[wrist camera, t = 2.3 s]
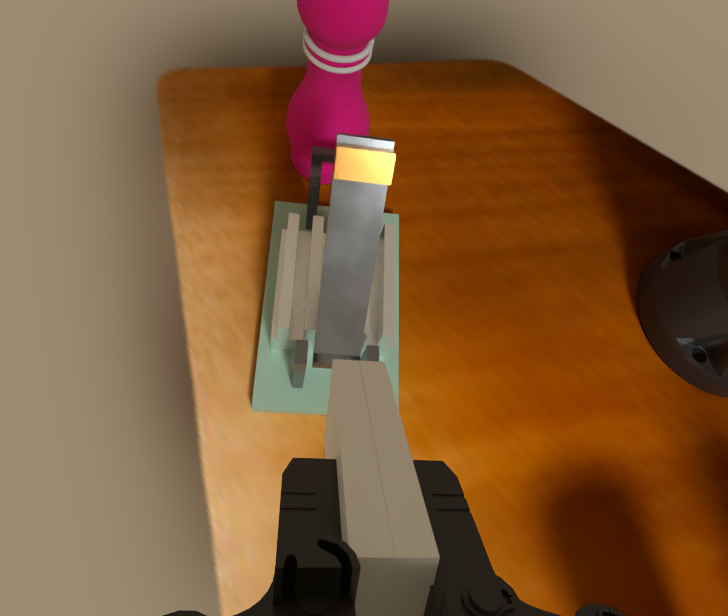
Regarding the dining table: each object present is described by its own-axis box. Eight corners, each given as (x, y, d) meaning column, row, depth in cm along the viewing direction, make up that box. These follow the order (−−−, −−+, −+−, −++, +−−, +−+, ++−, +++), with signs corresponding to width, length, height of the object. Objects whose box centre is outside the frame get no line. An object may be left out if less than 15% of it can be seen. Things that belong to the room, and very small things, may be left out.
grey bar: (356, 362, 33) (358, 382, 31) (312, 359, 33) (312, 379, 31) (391, 138, 27) (397, 145, 25) (336, 131, 26) (338, 138, 24)
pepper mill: (304, 199, 45) (321, -14, 26) (273, 138, 47) (268, -99, 28) (374, 176, 47) (434, -35, 29) (341, 119, 49) (377, -114, 30)
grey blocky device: (385, 393, 38) (411, 365, 30) (267, 386, 37) (264, 355, 29) (387, 218, 44) (409, 158, 36) (286, 206, 43) (287, 142, 35)
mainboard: (395, 419, 39) (398, 416, 37) (252, 411, 37) (251, 408, 36) (396, 221, 45) (398, 214, 44) (275, 208, 44) (275, 200, 43)
